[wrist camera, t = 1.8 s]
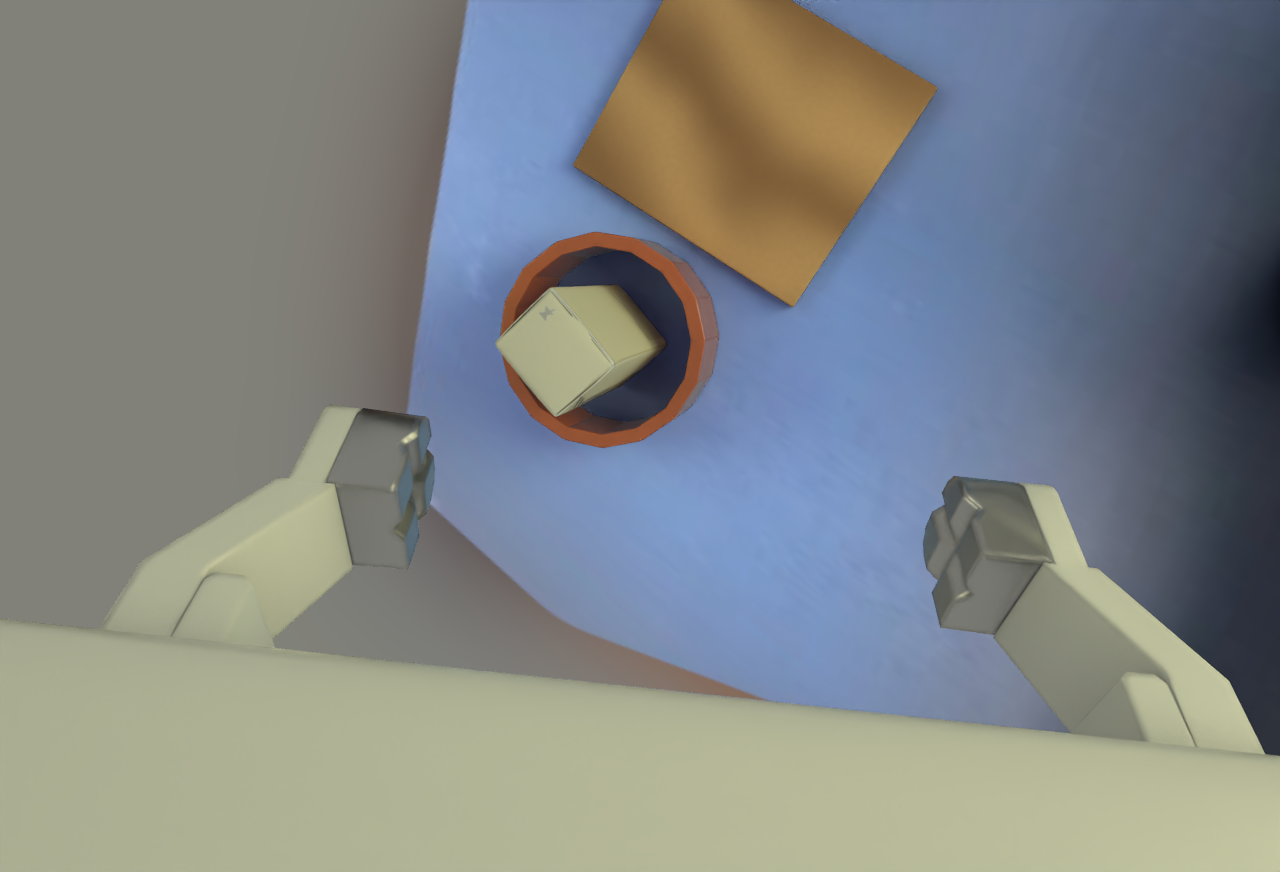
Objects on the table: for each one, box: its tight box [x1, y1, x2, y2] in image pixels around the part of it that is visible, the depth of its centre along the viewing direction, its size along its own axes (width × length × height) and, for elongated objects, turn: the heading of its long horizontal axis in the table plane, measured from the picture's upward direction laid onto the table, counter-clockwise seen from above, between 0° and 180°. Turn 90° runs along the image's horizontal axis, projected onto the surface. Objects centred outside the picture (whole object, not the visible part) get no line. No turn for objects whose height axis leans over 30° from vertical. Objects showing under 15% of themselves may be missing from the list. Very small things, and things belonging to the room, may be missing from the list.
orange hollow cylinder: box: [500, 232, 719, 448], centre depth 51 cm, size 12×12×5 cm
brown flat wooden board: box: [573, 0, 937, 307], centre depth 49 cm, size 14×16×1 cm
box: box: [495, 285, 667, 417], centre depth 47 cm, size 5×4×13 cm
